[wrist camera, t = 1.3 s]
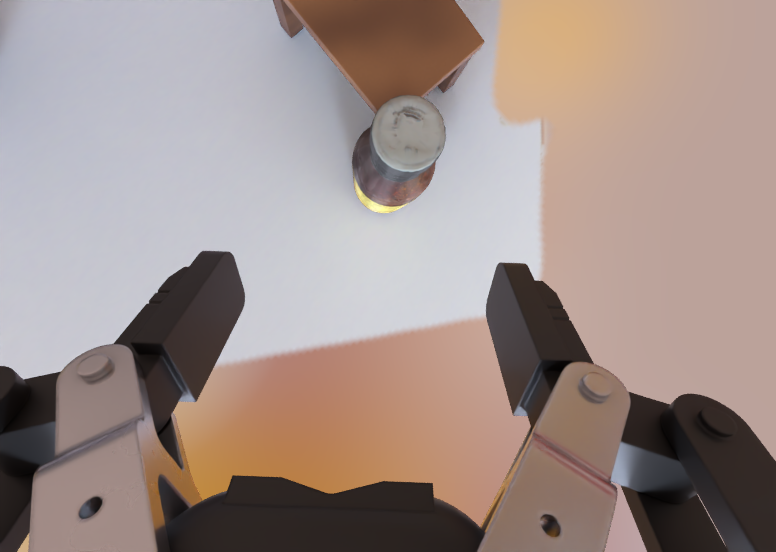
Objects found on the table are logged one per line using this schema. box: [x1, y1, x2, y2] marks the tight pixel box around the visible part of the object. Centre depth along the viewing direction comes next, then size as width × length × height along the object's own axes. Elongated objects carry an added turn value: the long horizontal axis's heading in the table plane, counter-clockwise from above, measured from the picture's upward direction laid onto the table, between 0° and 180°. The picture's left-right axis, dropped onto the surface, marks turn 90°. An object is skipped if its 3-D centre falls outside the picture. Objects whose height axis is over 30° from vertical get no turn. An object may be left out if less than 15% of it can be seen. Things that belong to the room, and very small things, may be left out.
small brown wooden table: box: [273, 0, 484, 115], centre depth 32 cm, size 16×11×8 cm
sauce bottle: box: [352, 95, 446, 213], centre depth 28 cm, size 7×6×20 cm
